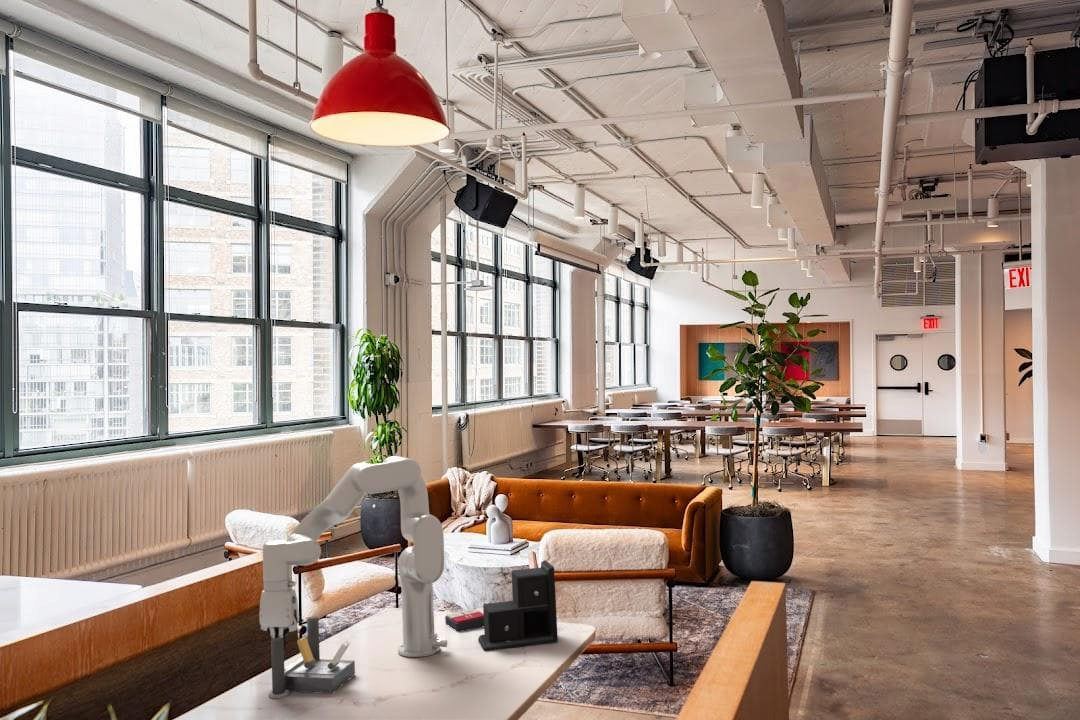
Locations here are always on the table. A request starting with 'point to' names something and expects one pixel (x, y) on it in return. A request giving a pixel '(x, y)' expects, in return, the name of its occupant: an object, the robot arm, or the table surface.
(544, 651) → the table surface
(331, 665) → the paddle white
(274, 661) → the post near
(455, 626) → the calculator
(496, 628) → the black drawer organizer
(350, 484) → the robot arm
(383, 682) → the table surface
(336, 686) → the breaker panel
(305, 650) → the paddle amber
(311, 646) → the post far
